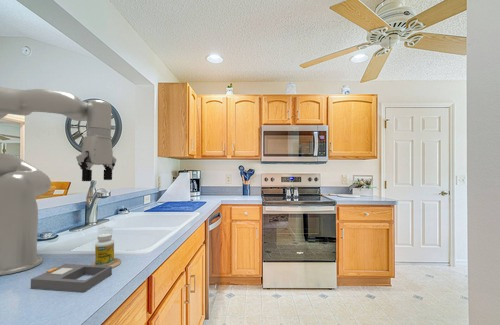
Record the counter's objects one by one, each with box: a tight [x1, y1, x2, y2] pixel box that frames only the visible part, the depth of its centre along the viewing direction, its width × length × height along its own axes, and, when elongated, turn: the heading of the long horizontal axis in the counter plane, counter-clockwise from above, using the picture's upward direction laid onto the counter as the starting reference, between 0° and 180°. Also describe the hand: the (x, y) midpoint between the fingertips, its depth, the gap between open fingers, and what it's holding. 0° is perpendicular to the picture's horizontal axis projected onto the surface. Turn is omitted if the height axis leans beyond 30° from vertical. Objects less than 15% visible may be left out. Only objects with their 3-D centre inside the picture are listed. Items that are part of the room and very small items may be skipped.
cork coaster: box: [90, 257, 122, 269], centre depth 75 cm, size 9×9×1 cm
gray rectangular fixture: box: [30, 263, 113, 293], centre depth 65 cm, size 16×10×3 cm, turn 83°
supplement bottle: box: [94, 233, 115, 266], centre depth 75 cm, size 5×5×10 cm
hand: (97, 180), depth 82 cm, fingers open, 9 cm apart
